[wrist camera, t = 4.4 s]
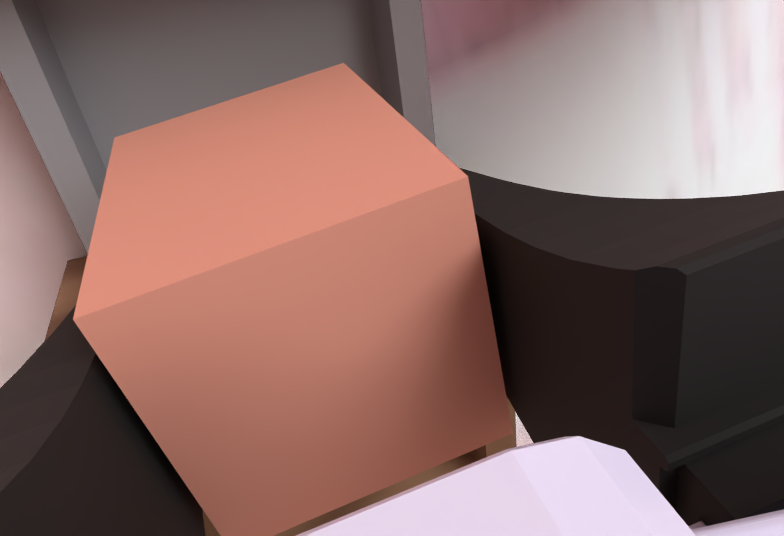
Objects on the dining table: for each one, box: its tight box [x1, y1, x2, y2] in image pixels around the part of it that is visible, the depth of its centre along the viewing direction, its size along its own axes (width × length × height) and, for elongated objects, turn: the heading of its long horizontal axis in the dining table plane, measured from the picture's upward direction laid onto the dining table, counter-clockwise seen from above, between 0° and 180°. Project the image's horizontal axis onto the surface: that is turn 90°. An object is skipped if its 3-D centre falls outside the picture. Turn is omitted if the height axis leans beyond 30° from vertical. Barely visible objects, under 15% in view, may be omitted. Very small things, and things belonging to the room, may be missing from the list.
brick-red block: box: [73, 63, 513, 536], centre depth 10 cm, size 4×4×6 cm
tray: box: [0, 0, 435, 254], centre depth 16 cm, size 13×14×5 cm
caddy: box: [45, 256, 516, 536], centre depth 22 cm, size 13×12×4 cm
